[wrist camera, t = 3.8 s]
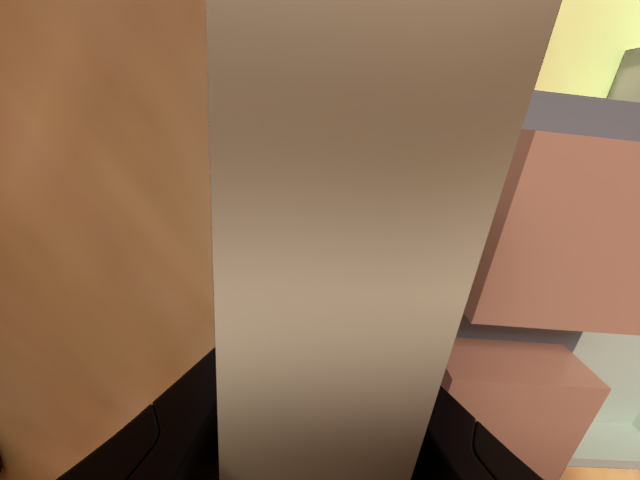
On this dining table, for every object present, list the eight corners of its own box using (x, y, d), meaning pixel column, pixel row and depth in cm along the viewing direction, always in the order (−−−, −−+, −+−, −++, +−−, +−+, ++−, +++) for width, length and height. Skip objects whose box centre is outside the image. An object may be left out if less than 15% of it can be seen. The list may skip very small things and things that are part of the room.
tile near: (585, 297, 11) (643, 335, 9) (443, 286, 10) (471, 323, 9) (658, 145, 9) (749, 153, 7) (487, 126, 9) (535, 130, 7)
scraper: (334, 467, 12) (348, 677, 8) (257, 464, 12) (225, 678, 8) (404, 67, 7) (565, -10, 3) (274, 52, 7) (203, -58, 2)
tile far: (517, 439, 13) (551, 492, 12) (401, 434, 13) (416, 487, 11) (563, 344, 12) (611, 388, 10) (429, 335, 11) (452, 379, 9)
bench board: (481, 390, 17) (521, 456, 14) (236, 376, 16) (217, 442, 13) (588, 110, 12) (693, 109, 9) (237, 69, 11) (206, 51, 8)
